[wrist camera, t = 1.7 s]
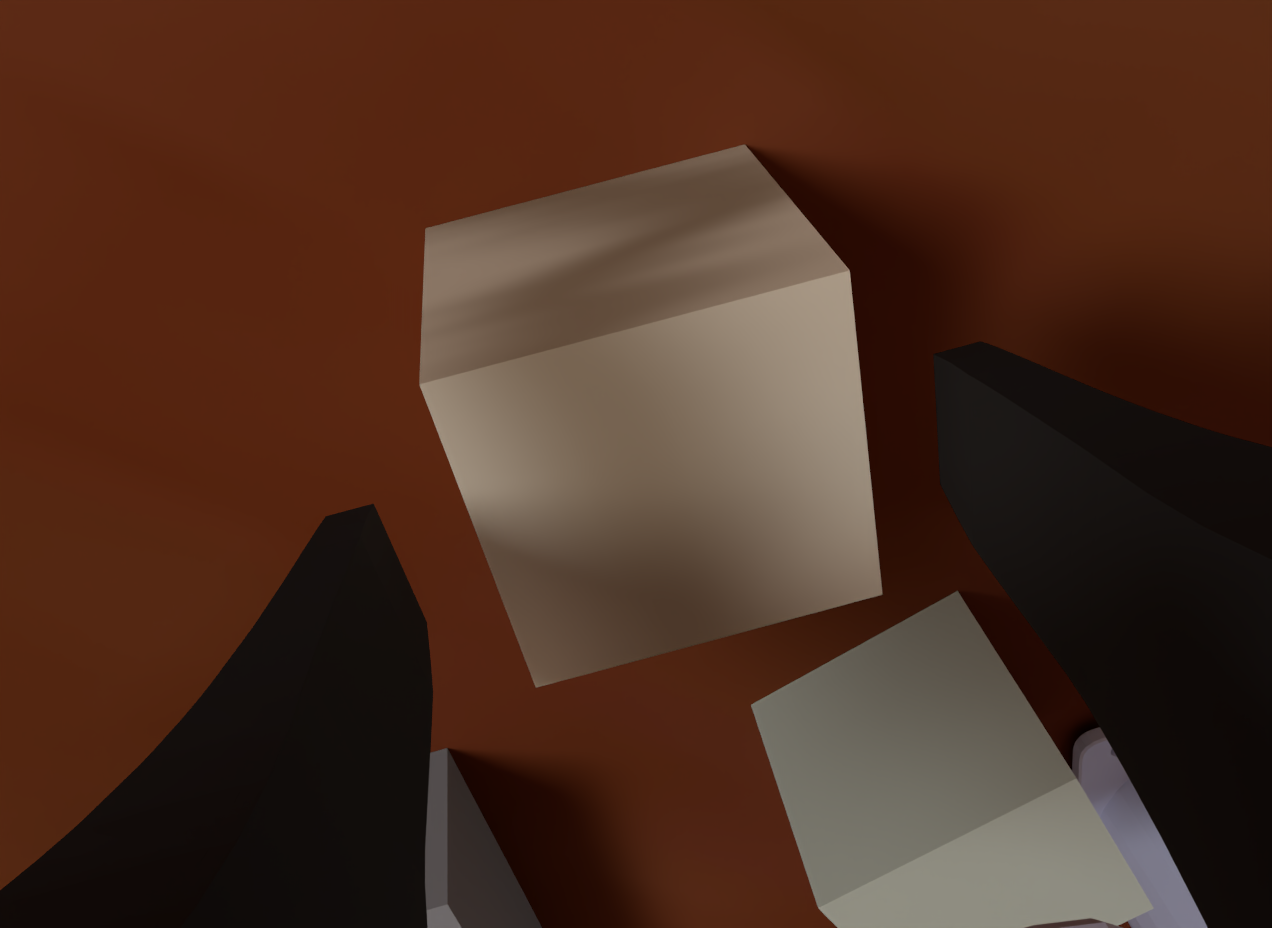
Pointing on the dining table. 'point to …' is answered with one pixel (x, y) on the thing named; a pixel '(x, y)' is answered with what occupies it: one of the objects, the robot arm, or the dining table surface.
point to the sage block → (937, 789)
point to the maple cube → (652, 411)
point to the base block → (466, 860)
